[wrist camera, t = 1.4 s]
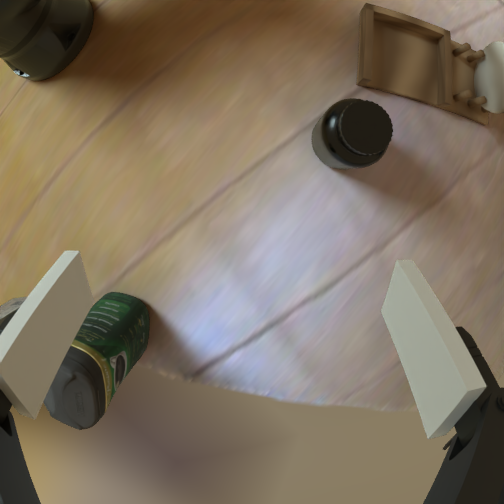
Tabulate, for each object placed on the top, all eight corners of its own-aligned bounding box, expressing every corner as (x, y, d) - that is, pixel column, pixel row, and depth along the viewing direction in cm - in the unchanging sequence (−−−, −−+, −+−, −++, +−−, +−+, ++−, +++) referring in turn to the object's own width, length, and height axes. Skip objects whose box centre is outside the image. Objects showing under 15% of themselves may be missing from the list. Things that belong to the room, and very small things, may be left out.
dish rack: (356, 84, 34) (385, 56, 24) (359, 12, 31) (384, -28, 21) (485, 125, 34) (534, 118, 23) (483, 58, 31) (527, 39, 21)
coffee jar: (101, 284, 42) (20, 346, 23) (153, 298, 42) (88, 375, 23) (101, 343, 44) (36, 418, 26) (149, 357, 44) (97, 445, 26)
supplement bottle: (362, 112, 35) (399, 89, 23) (368, 167, 36) (409, 166, 25) (306, 114, 35) (323, 89, 24) (313, 171, 37) (333, 170, 25)
